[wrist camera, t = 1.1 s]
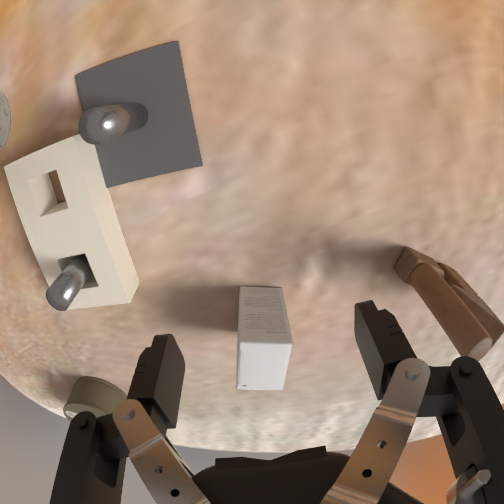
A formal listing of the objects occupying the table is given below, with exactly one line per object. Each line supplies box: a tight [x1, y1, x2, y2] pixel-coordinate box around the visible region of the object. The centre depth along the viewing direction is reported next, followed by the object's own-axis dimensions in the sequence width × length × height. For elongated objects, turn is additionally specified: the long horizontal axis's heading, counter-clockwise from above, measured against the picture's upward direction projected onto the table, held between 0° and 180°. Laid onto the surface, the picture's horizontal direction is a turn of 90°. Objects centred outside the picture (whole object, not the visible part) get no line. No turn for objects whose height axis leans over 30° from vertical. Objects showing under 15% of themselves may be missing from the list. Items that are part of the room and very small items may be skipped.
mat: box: [76, 41, 203, 188], centre depth 30 cm, size 14×12×1 cm
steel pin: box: [78, 103, 148, 145], centre depth 25 cm, size 3×3×10 cm
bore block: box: [4, 134, 140, 310], centre depth 33 cm, size 20×11×4 cm, turn 9°
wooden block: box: [394, 247, 504, 361], centre depth 32 cm, size 4×11×18 cm, turn 68°
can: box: [63, 377, 127, 422], centre depth 48 cm, size 12×12×7 cm
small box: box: [236, 286, 293, 390], centre depth 37 cm, size 8×6×10 cm
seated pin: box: [46, 253, 92, 311], centre depth 33 cm, size 3×3×10 cm
